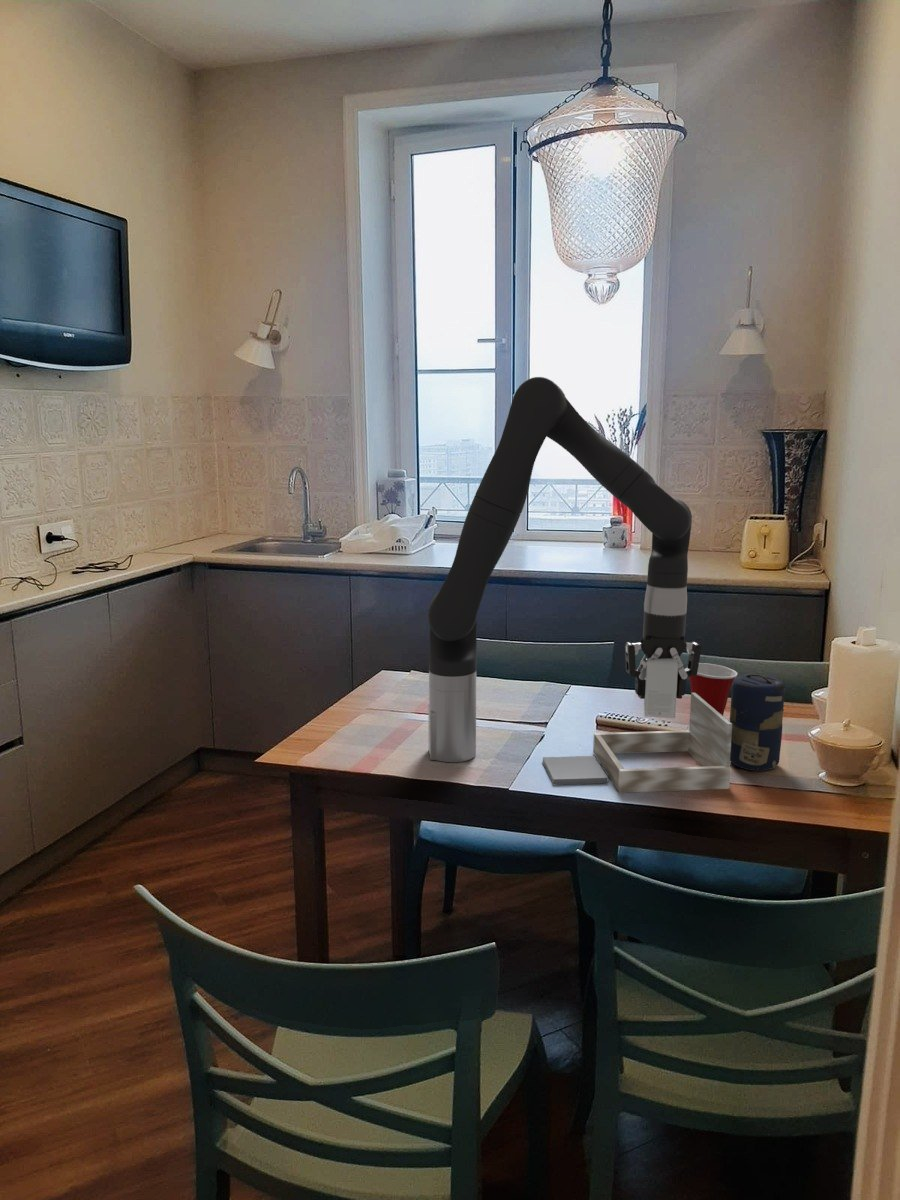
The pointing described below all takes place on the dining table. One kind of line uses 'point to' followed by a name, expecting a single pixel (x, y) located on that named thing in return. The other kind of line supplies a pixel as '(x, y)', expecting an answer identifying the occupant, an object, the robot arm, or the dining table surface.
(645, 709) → the small box
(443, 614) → the robot arm
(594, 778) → the slate tile
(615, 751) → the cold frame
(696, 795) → the dining table surface
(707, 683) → the plastic cup
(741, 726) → the canister
